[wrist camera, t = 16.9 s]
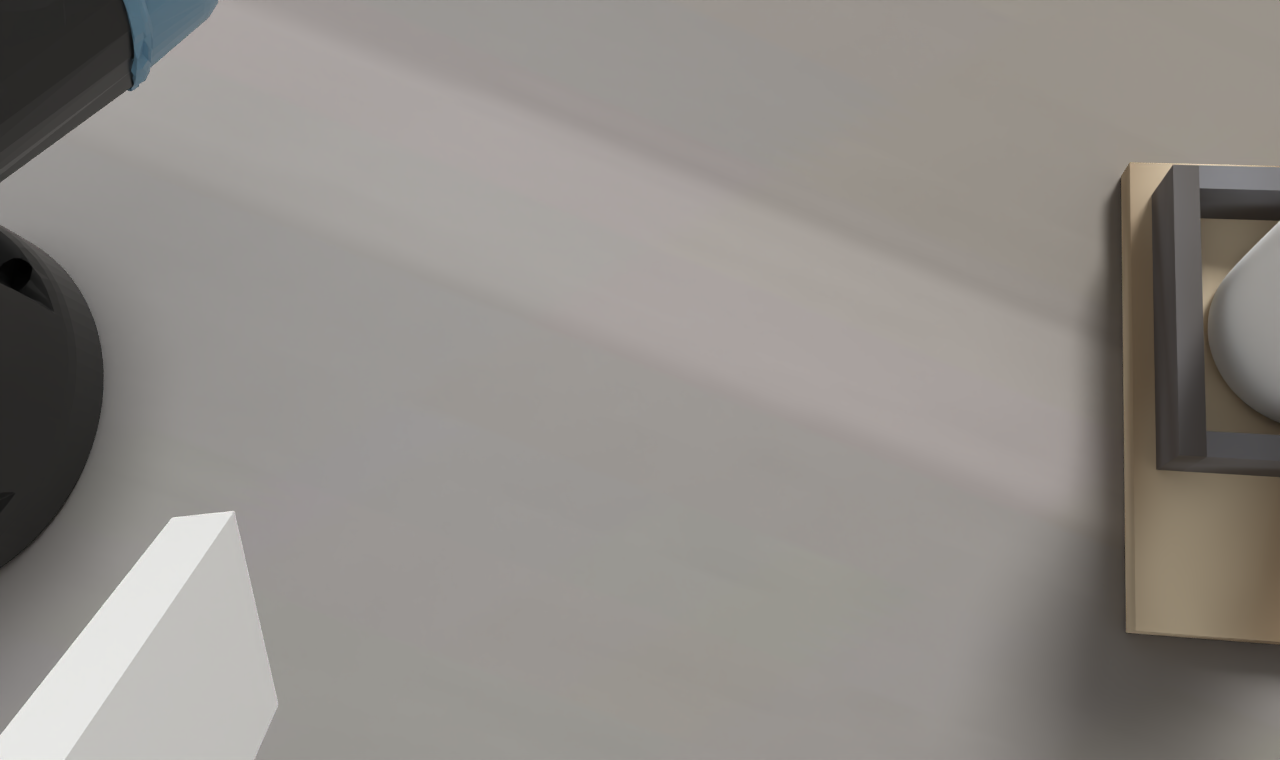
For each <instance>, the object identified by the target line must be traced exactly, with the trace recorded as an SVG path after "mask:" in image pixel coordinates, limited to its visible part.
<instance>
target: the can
mask: <svg viewBox="0 0 1280 760" xmlns="http://www.w3.org/2000/svg"><path fill="white" fill-rule="evenodd" d="M1208 340H1209V346H1210V350H1211V354H1212V357H1213V359H1214V362H1215V364H1216V366H1217V368H1218V370H1219V372H1220V374H1221V376H1222V377H1223V379H1224V380H1225V382H1226V383H1227V384H1228V386H1229V387H1230V388H1231V389H1232V391H1233V392H1234V393H1235V394H1236V395H1237V396H1238V397H1239V398H1240V399H1241V400H1242V401H1244V402H1245V403H1246V404H1247V405H1248V406H1250V407H1251V408H1252V409H1254V410H1255V411H1257V412H1258V413H1260V414H1262V415H1264V416H1265V417H1267V418H1269V419H1272V420H1274V421H1276V422H1279V423H1280V221H1279V222H1278V223H1277V224H1276V225H1275V226H1274V227H1273V228H1272V229H1271V230H1270V231H1269V232H1268V233H1267V234H1266V235H1265V236H1264V237H1263V238H1262V239H1261V240H1260V241H1259V242H1258V243H1257V244H1256V245H1255V246H1254V247H1253V248H1252V249H1251V250H1250V251H1249V252H1248V253H1247V254H1246V255H1245V256H1244V257H1243V258H1242V259H1241V260H1240V261H1239V262H1238V263H1237V264H1236V265H1235V266H1234V267H1233V269H1232V270H1231V271H1230V272H1229V273H1228V274H1227V275H1226V277H1225V278H1224V279H1223V281H1222V282H1221V284H1220V285H1219V287H1218V289H1217V291H1216V293H1215V295H1214V297H1213V300H1212V303H1211V306H1210V310H1209V315H1208Z"/></svg>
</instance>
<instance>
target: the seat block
mask: <svg viewBox="0 0 1280 760" xmlns="http://www.w3.org/2000/svg"><path fill="white" fill-rule="evenodd" d="M1279 221H1280V166H1254V165H1214V164H1175V163H1135V162H1130V163H1129V164H1128V166H1127V168H1126V169H1125V171H1124V173H1123V174H1122V176H1121V222H1122V313H1123V404H1124V496H1125V587H1126V633H1136V634H1149V635H1162V636H1175V637H1188V638H1201V639H1213V640H1226V641H1239V642H1252V643H1265V644H1278V645H1280V423H1279V422H1276V421H1274V420H1272V419H1269V418H1267V417H1265V416H1264V415H1262V414H1260V413H1258V412H1257V411H1255V410H1254V409H1252V408H1251V407H1250V406H1248V405H1247V404H1246V403H1245V402H1244V401H1242V400H1241V399H1240V398H1239V397H1238V396H1237V395H1236V394H1235V393H1234V392H1233V391H1232V389H1231V388H1230V387H1229V386H1228V384H1227V383H1226V382H1225V380H1224V379H1223V377H1222V376H1221V374H1220V372H1219V370H1218V368H1217V366H1216V364H1215V362H1214V359H1213V357H1212V354H1211V350H1210V346H1209V340H1208V315H1209V310H1210V306H1211V303H1212V300H1213V297H1214V295H1215V293H1216V291H1217V289H1218V287H1219V285H1220V284H1221V282H1222V281H1223V279H1224V278H1225V277H1226V275H1227V274H1228V273H1229V272H1230V271H1231V270H1232V269H1233V267H1234V266H1235V265H1236V264H1237V263H1238V262H1239V261H1240V260H1241V259H1242V258H1243V257H1244V256H1245V255H1246V254H1247V253H1248V252H1249V251H1250V250H1251V249H1252V248H1253V247H1254V246H1255V245H1256V244H1257V243H1258V242H1259V241H1260V240H1261V239H1262V238H1263V237H1264V236H1265V235H1266V234H1267V233H1268V232H1269V231H1270V230H1271V229H1272V228H1273V227H1274V226H1275V225H1276V224H1277V223H1278V222H1279Z"/></svg>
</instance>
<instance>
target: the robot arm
mask: <svg viewBox="0 0 1280 760" xmlns="http://www.w3.org/2000/svg"><path fill="white" fill-rule="evenodd" d="M217 3H218V0H0V182H1V181H3V180H4V179H6V178H7V177H8V176H10V175H11V174H12V173H14V172H15V171H17V170H18V169H19V168H21V167H22V166H23V165H25V164H26V163H28V162H29V161H30V160H32V159H33V158H34V157H36V156H37V155H39V154H40V153H41V152H43V151H44V150H45V149H47V148H48V147H50V146H51V145H52V144H54V143H55V142H56V141H58V140H59V139H60V138H62V137H63V136H65V135H66V134H67V133H69V132H70V131H71V130H73V129H74V128H76V127H77V126H78V125H80V124H81V123H82V122H84V121H85V120H87V119H88V118H89V117H91V116H92V115H93V114H95V113H96V112H98V111H99V110H100V109H102V108H103V107H104V106H106V105H107V104H109V103H110V102H111V101H113V100H114V99H115V98H117V97H118V96H119V95H121V94H122V93H124V92H125V91H126V90H128V91H133V90H134V89H136V88H137V87H138V86H139V84H140V83H142V82H143V81H145V80H146V78H147V76H148V74H149V72H150V67H152V66H153V65H154V64H155V63H156V62H157V61H159V60H160V59H161V58H162V57H163V56H164V55H166V54H167V53H168V52H169V51H170V50H171V49H173V48H174V47H175V46H176V45H177V44H178V43H180V42H181V41H182V40H183V39H184V38H185V37H187V36H188V35H189V34H190V33H191V32H193V31H194V30H195V29H196V28H197V27H198V26H200V25H201V24H202V23H203V22H204V21H205V20H207V18H208V17H209V16H210V15H211V13H212V11H213V10H214V8H215V7H216V5H217ZM102 397H103V359H102V352H101V345H100V341H99V336H98V332H97V329H96V325H95V322H94V319H93V317H92V314H91V312H90V309H89V307H88V305H87V303H86V301H85V299H84V297H83V295H82V294H81V292H80V290H79V289H78V287H77V285H76V284H75V283H74V281H73V280H72V279H71V277H70V276H69V275H68V274H67V273H66V271H65V270H64V269H63V268H62V267H61V266H60V265H59V264H58V263H57V262H56V261H55V260H54V259H53V258H52V257H50V256H49V255H48V254H46V253H45V252H44V251H43V250H41V249H40V248H38V247H37V246H35V245H34V244H32V243H30V242H29V241H27V240H25V239H24V238H22V237H20V236H18V235H17V234H15V233H13V232H12V231H10V230H8V229H7V228H5V227H3V226H1V225H0V567H2V566H3V565H4V564H6V563H7V562H9V561H10V560H11V559H12V558H14V557H15V556H16V555H17V554H18V553H20V552H21V551H22V550H23V549H24V548H25V547H26V546H27V545H28V544H30V543H31V542H32V541H33V540H34V539H35V538H36V537H37V536H38V534H39V533H40V532H41V531H42V530H43V529H44V528H45V527H46V526H47V524H48V523H49V522H50V521H51V519H52V518H53V517H54V516H55V514H56V513H57V512H58V510H59V509H60V507H61V506H62V505H63V503H64V502H65V500H66V499H67V497H68V495H69V494H70V492H71V491H72V489H73V487H74V485H75V483H76V482H77V480H78V478H79V476H80V474H81V472H82V469H83V467H84V465H85V463H86V461H87V458H88V455H89V453H90V450H91V447H92V444H93V441H94V438H95V435H96V431H97V427H98V422H99V418H100V412H101V406H102ZM277 707H278V701H277V696H276V692H275V687H274V683H273V679H272V674H271V670H270V665H269V661H268V657H267V652H266V648H265V643H264V639H263V634H262V630H261V626H260V621H259V617H258V612H257V608H256V604H255V599H254V595H253V590H252V586H251V582H250V577H249V573H248V568H247V564H246V560H245V555H244V551H243V546H242V542H241V537H240V533H239V529H238V524H237V520H236V515H235V511H228V512H219V513H209V514H200V515H191V516H182V517H172V518H171V520H170V521H169V522H168V523H167V525H166V526H165V527H164V528H163V530H162V531H161V532H160V534H159V535H158V536H157V537H156V539H155V540H154V541H153V542H152V544H151V545H150V546H149V547H148V549H147V550H146V551H145V553H144V554H143V555H142V556H141V558H140V559H139V560H138V561H137V563H136V564H135V565H134V566H133V568H132V569H131V570H130V572H129V573H128V574H127V575H126V577H125V578H124V579H123V580H122V582H121V583H120V584H119V585H118V587H117V588H116V589H115V590H114V592H113V593H112V594H111V596H110V597H109V598H108V599H107V601H106V602H105V603H104V604H103V606H102V607H101V608H100V609H99V611H98V612H97V613H96V615H95V616H94V617H93V618H92V620H91V621H90V622H89V623H88V625H87V626H86V627H85V628H84V630H83V631H82V632H81V634H80V635H79V636H78V637H77V639H76V640H75V641H74V642H73V644H72V645H71V646H70V647H69V649H68V650H67V651H66V653H65V654H64V655H63V656H62V658H61V659H60V660H59V661H58V663H57V664H56V665H55V666H54V668H53V669H52V670H51V672H50V673H49V674H48V675H47V677H46V678H45V679H44V680H43V682H42V683H41V684H40V685H39V687H38V688H37V689H36V690H35V692H34V693H33V694H32V696H31V697H30V698H29V699H28V701H27V702H26V703H25V704H24V706H23V707H22V708H21V709H20V711H19V712H18V713H17V715H16V716H15V717H14V718H13V720H12V721H11V722H10V723H9V725H8V726H7V727H6V728H5V730H4V731H3V732H2V734H1V735H0V760H254V759H255V757H256V755H257V752H258V750H259V748H260V746H261V743H262V741H263V739H264V737H265V734H266V732H267V730H268V727H269V725H270V723H271V721H272V718H273V716H274V714H275V712H276V709H277Z"/></svg>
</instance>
